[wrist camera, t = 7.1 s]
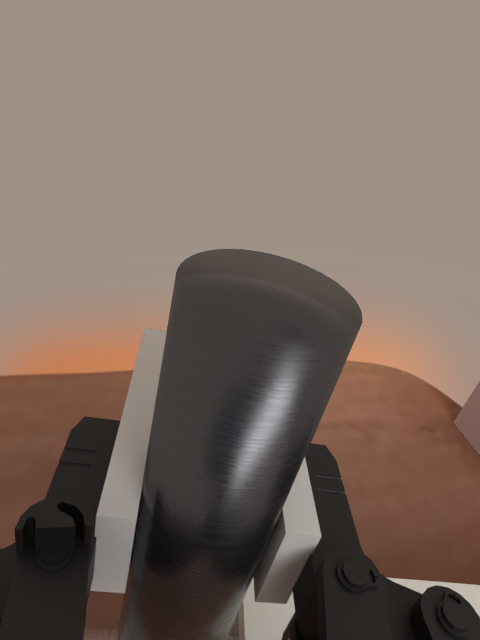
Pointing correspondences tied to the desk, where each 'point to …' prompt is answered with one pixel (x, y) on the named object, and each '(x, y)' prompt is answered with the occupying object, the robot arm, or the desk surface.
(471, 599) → the elongated cream cuboid
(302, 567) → the robot arm
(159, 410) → the slide bolt
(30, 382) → the desk surface
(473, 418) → the greeting card
